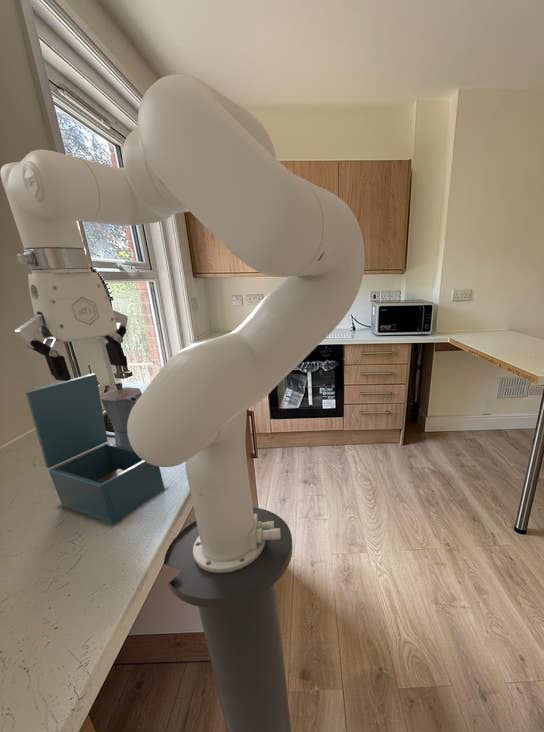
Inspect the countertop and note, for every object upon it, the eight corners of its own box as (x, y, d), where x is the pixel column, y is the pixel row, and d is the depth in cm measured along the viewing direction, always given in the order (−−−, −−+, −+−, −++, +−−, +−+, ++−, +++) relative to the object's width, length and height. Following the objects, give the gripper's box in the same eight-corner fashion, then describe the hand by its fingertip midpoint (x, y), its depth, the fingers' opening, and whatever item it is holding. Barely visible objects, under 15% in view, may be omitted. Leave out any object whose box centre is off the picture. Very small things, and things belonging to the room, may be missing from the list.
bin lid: (96, 374, 73) (78, 367, 75) (28, 392, 62) (9, 385, 64) (107, 441, 80) (91, 434, 82) (48, 468, 70) (31, 459, 71)
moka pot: (135, 467, 87) (114, 392, 80) (100, 453, 95) (78, 383, 87) (167, 451, 95) (151, 381, 87) (133, 439, 102) (115, 373, 94)
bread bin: (164, 489, 78) (156, 454, 75) (112, 525, 67) (100, 486, 64) (116, 475, 84) (107, 442, 81) (62, 505, 74) (48, 469, 70)
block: (124, 487, 78) (118, 468, 76) (140, 492, 76) (134, 473, 74) (103, 500, 73) (96, 480, 71) (119, 506, 72) (113, 485, 70)
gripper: (7, 261, 44) (52, 389, 51) (127, 262, 59) (150, 362, 65) (-24, 264, 47) (22, 384, 54) (98, 264, 62) (122, 359, 68)
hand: (92, 372), depth 60 cm, fingers open, 9 cm apart
